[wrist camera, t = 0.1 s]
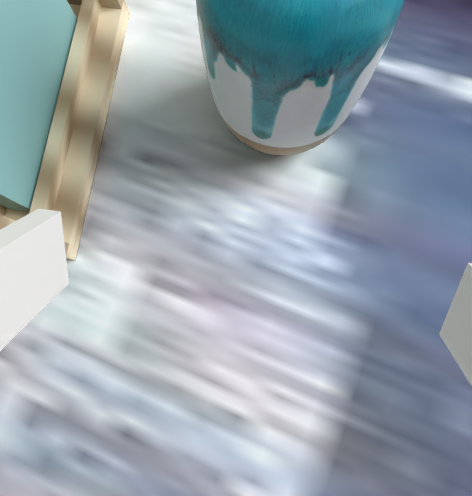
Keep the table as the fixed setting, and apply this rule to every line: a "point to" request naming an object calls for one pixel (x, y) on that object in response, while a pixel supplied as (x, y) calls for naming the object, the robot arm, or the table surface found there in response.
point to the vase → (291, 65)
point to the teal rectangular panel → (29, 89)
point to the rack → (79, 118)
